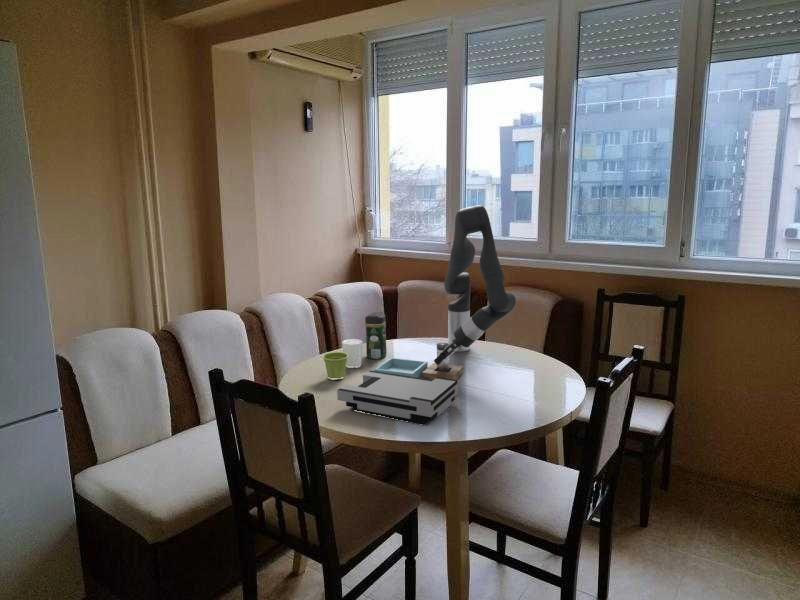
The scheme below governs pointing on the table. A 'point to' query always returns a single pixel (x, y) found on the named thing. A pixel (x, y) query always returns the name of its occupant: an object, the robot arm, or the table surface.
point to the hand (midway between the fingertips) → (438, 360)
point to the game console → (400, 396)
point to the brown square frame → (433, 373)
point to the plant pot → (335, 364)
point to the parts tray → (403, 367)
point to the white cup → (353, 351)
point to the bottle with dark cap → (445, 363)
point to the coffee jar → (375, 335)
